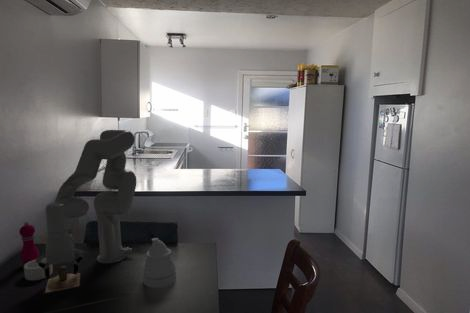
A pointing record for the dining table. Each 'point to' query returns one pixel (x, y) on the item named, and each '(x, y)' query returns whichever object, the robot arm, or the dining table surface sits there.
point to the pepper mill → (28, 243)
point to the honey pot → (159, 266)
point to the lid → (63, 279)
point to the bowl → (35, 270)
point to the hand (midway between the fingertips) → (62, 275)
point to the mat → (49, 289)
